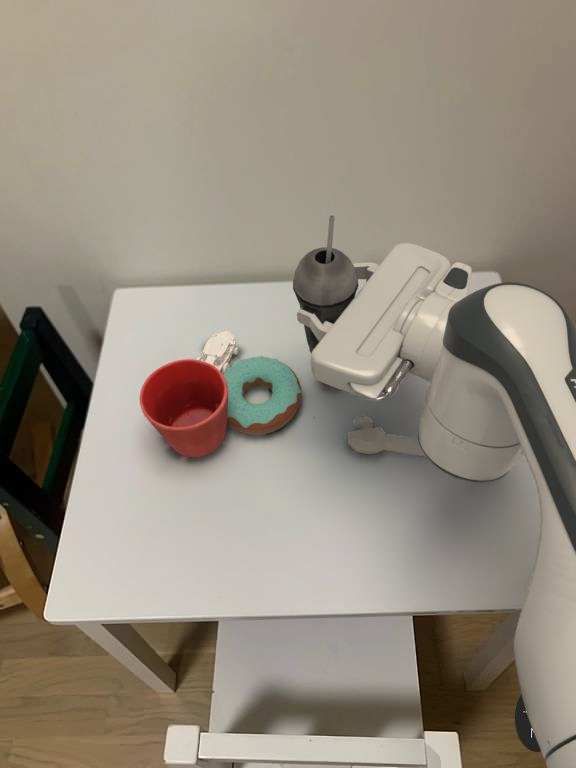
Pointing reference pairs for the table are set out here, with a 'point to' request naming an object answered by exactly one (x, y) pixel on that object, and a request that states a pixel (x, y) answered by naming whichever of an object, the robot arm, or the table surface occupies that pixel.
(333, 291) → the beverage cup
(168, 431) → the flower pot
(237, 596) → the table surface
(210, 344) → the toy car
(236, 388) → the donut
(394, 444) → the bone
